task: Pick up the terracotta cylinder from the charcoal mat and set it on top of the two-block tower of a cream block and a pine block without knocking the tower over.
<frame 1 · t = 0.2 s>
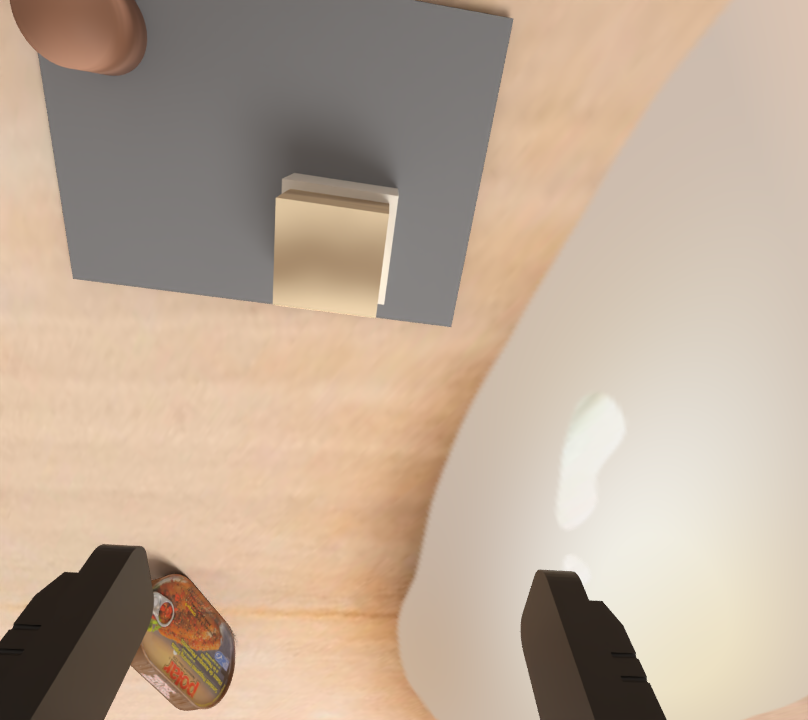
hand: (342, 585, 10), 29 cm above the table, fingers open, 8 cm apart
mat: (275, 160, 33), on the table
tower base block: (341, 232, 34), point 1 cm above the table, touching mat, tower top block
tower top block: (336, 245, 30), point 5 cm above the table, touching tower base block
tin: (197, 603, 52), on the table
terracotta cylinder: (103, 26, 28), point 1 cm above the table, touching mat
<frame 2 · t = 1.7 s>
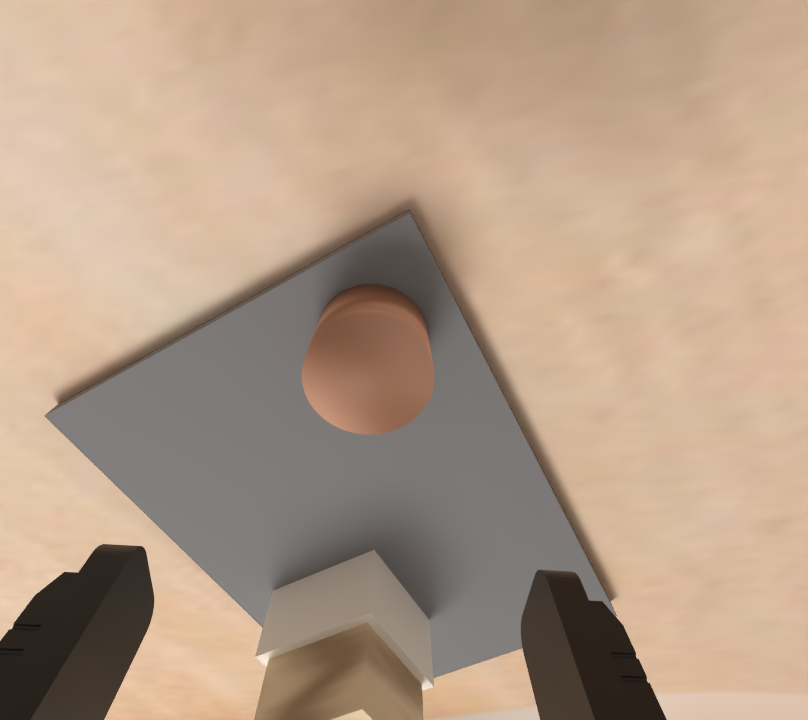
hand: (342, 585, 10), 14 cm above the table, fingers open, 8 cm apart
mat: (369, 516, 28), on the table
tower base block: (352, 605, 30), point 1 cm above the table, touching mat, tower top block
tower top block: (346, 672, 26), point 5 cm above the table, touching tower base block
terracotta cylinder: (372, 337, 22), point 1 cm above the table, touching mat
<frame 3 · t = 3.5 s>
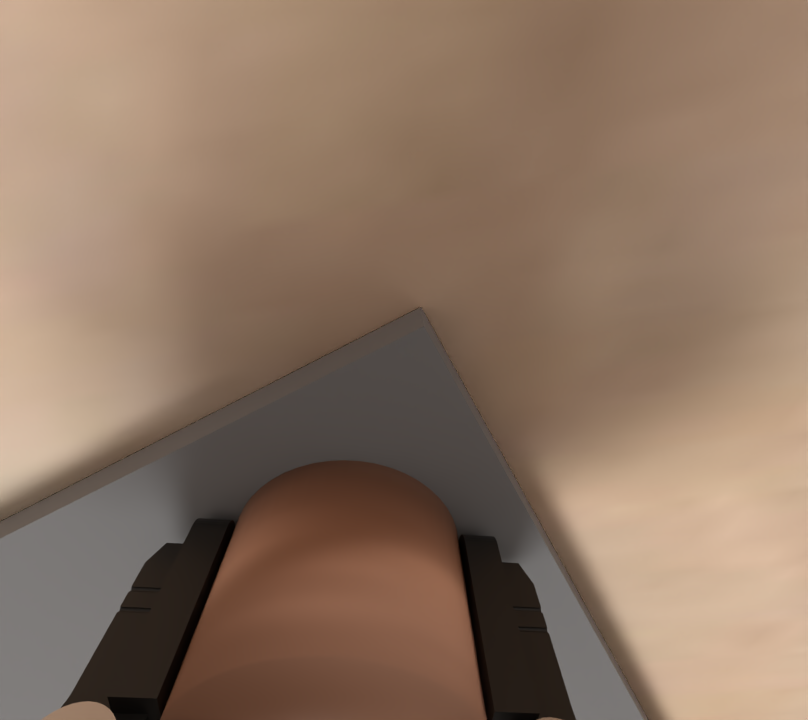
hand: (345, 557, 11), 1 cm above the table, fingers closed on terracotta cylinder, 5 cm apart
terracotta cylinder: (347, 549, 11), point 1 cm above the table, touching gripper, mat
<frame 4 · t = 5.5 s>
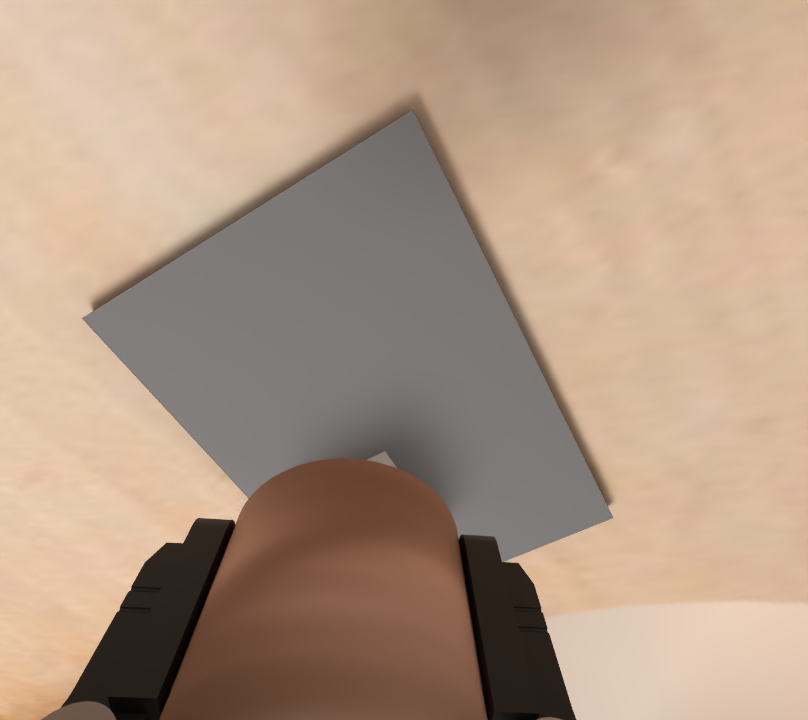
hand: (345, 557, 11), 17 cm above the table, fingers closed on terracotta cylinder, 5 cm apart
mat: (380, 420, 30), on the table
terracotta cylinder: (347, 547, 11), point 17 cm above the table, touching gripper
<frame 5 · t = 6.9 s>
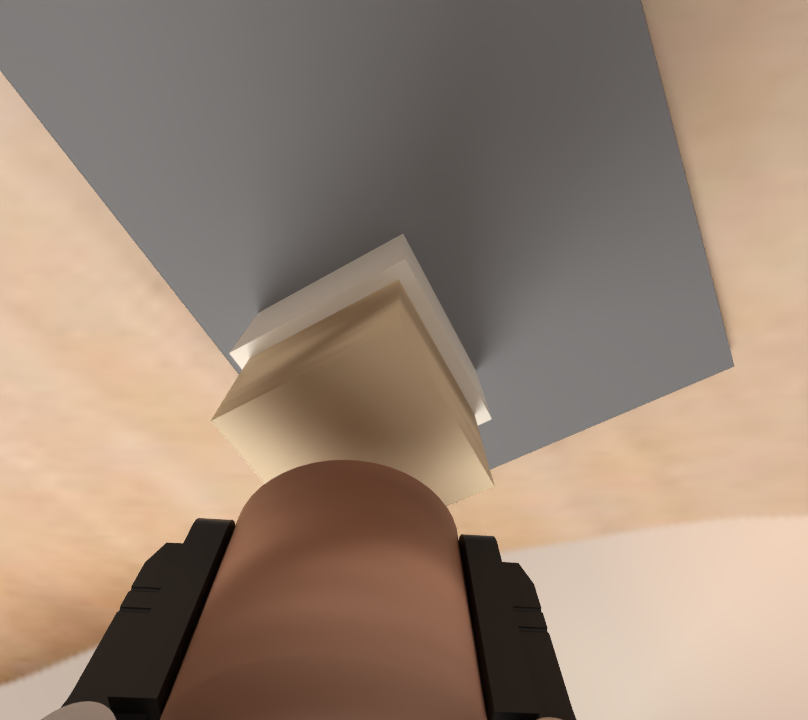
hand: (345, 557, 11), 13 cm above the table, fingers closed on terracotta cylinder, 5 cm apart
mat: (395, 189, 19), on the table
tower base block: (370, 342, 21), point 1 cm above the table, touching mat, tower top block
tower top block: (365, 387, 18), point 5 cm above the table, touching tower base block
terracotta cylinder: (347, 549, 11), point 12 cm above the table, touching gripper
when the fingers open (10 cm above the table, at t = 7.8 s): terracotta cylinder stays where it is, resting on tower top block.
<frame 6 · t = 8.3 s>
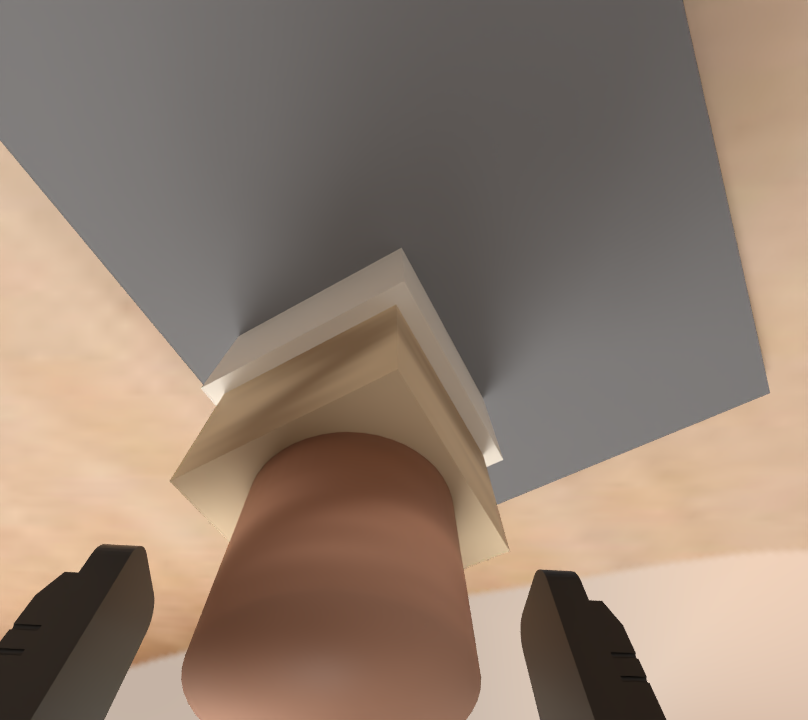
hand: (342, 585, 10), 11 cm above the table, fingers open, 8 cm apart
mat: (394, 197, 17), on the table
tower base block: (365, 368, 19), point 1 cm above the table, touching mat, tower top block
tower top block: (358, 425, 15), point 5 cm above the table, touching terracotta cylinder, tower base block
terracotta cylinder: (351, 517, 12), point 9 cm above the table, touching tower top block
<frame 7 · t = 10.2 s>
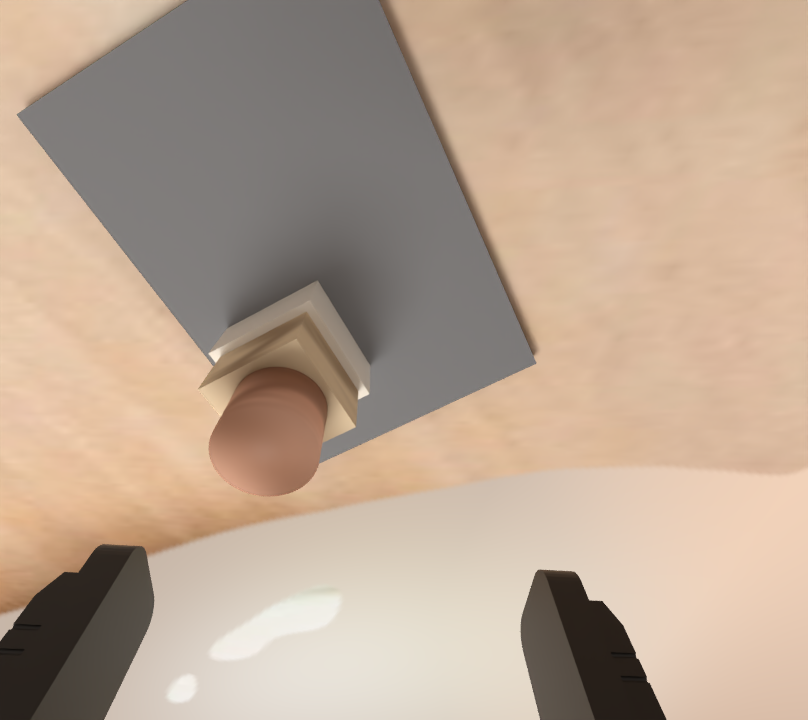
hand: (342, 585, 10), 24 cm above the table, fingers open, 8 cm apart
mat: (313, 252, 31), on the table
tower base block: (300, 347, 33), point 1 cm above the table, touching mat, tower top block
tower top block: (291, 374, 29), point 5 cm above the table, touching terracotta cylinder, tower base block
terracotta cylinder: (280, 408, 26), point 9 cm above the table, touching tower top block
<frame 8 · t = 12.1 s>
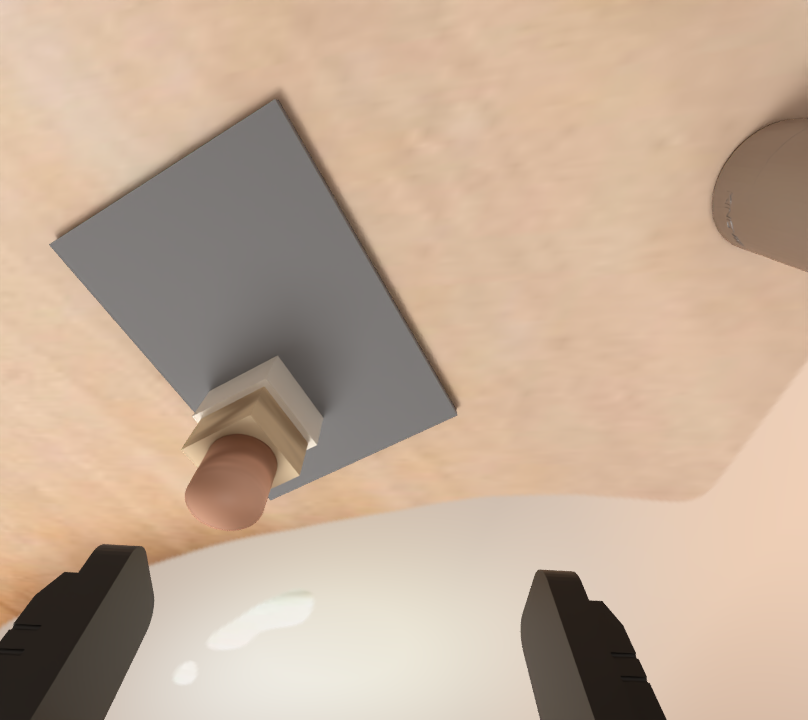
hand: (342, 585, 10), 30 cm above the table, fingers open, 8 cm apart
mat: (275, 333, 40), on the table
tower base block: (267, 404, 42), point 1 cm above the table, touching mat, tower top block
tower top block: (255, 431, 38), point 5 cm above the table, touching terracotta cylinder, tower base block
terracotta cylinder: (242, 462, 35), point 9 cm above the table, touching tower top block
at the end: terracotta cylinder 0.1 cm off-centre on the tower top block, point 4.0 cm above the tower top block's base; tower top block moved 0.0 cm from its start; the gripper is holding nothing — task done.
